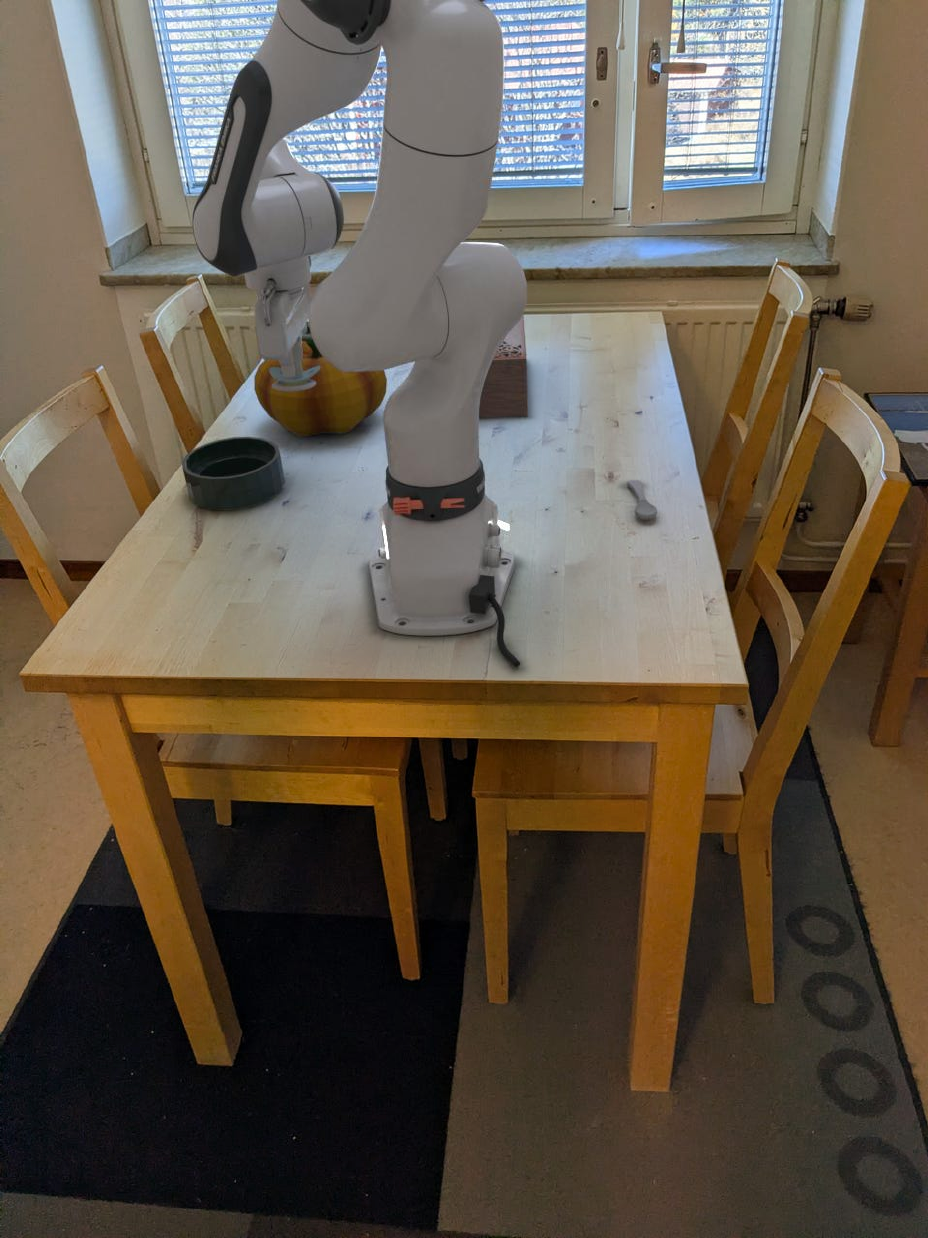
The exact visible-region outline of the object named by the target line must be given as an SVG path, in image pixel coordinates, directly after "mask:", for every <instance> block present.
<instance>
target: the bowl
mask: <svg viewBox="0 0 928 1238" xmlns="http://www.w3.org/2000/svg"><path fill="white" fill-rule="evenodd" d="M181 467H182V472H183V477H184V480H185V485H186V490H187V493H188V497H189V500H190V501H191V502H192V503H193V504H194V505H195V506H199V507H201V508H204V509H209V510H215V511H229V510H232V511H233V510H239V509H243V508H249V507H252V506H256V505H258V504H261V503H265V502H267V501H269V500H270V499H272V498H273V497H274V498H275V496H277V495H278V494H279V493H280V492H281V491H283V488H284V486H285V483H286V478H285V473H284V467H283V462H282V455H281V451H280V448H279V446H278V445H277V444H276V443H275V442H274V441H272V440H269V439H267V438H262V437H255V436H234V437H227V438H221V439H217V440H214V441H210V442H206V443H204V444H202V445H200V446H198V447H195V448H194V449H192V450H191V451H190V452H188V453H187V454H186V455H185V456H184V458H183V459H182V461H181Z"/></svg>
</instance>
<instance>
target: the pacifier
mask: <svg viewBox="0 0 928 1238" xmlns="http://www.w3.org/2000/svg"><path fill="white" fill-rule="evenodd" d="M292 350H293V353H292V355H293V360H294V361H295V363H296V370H297V371H296V374H295V376H294V377H287V378H285V377H283V375H282V374H280V373H282V370H281V368H279V367H271V368H270V369H269V372H270V374H271V376H272V377H273V378H274V379H276V380H278V381H277V382H275V383H273V384H272V388H273V389H275V390H279V391H301V390H306V389H310V388H312V387H314V386H315V385H316V382H315V381H314V380H312V379H309V378H310V377H312V376H313V375H315V374H316V373H317V372H318V371H319V370H320V365H319V366H316V367H313V368H311V369H308V370H306V371H303V370H302V363H301V359H302V356H303V350H302V347H301V345H300V344H299V343H298V342H297V341H296V343H295V345H294V347H293V349H292ZM283 384H284V385H285V386H281V385H283Z"/></svg>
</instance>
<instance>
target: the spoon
mask: <svg viewBox="0 0 928 1238" xmlns="http://www.w3.org/2000/svg"><path fill="white" fill-rule="evenodd" d="M626 486H627V487H628V488H629V489H631V490H632V492H634V494H635V495H636V497H637V500H638V503H637V504H636V506H635V507H634V514H635V516H636V517H637V518H638V519H640V520H643V521H651V520H653V519H655V518H656V517H657V514H658V509H657V507H656V506H655V505H653V504H652V503H650V502H649V501H648V499H647V498H646V495H645V492H644V489H643V487H642V483H641V481H640V480H639V479H638V480H637V479H635V480H628V481H626Z"/></svg>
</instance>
